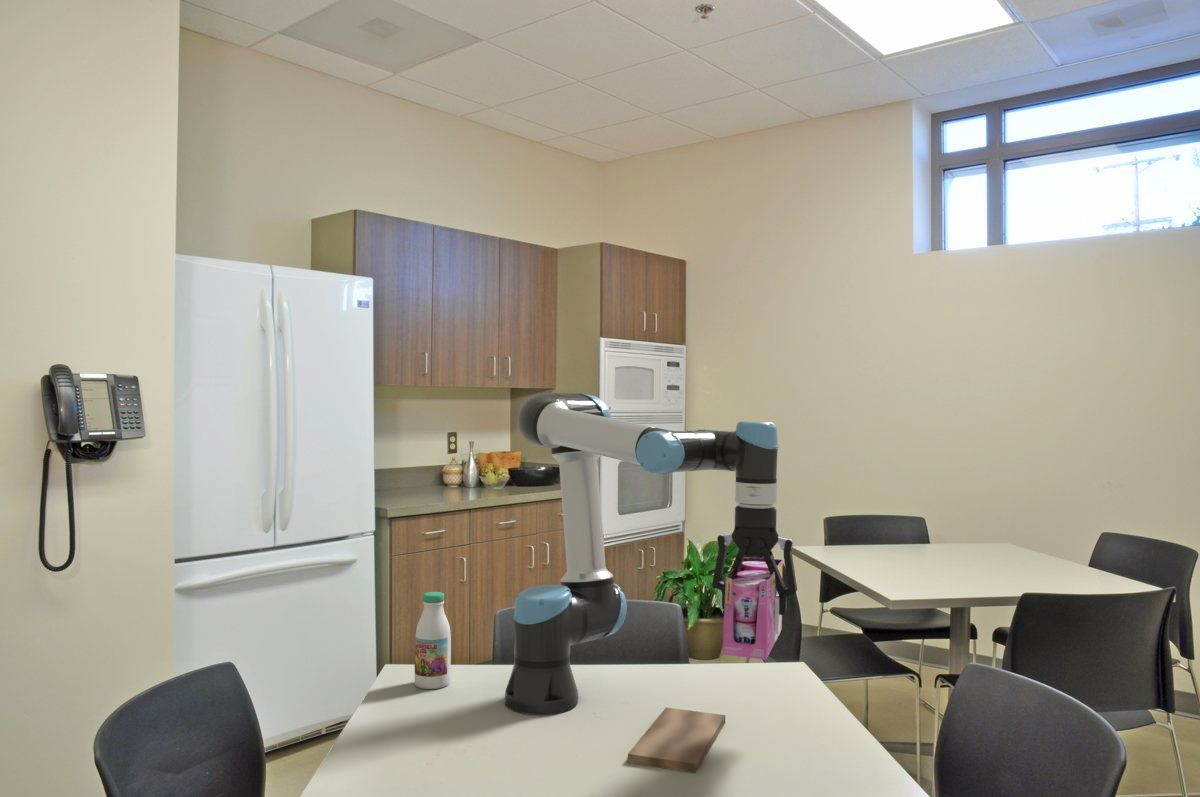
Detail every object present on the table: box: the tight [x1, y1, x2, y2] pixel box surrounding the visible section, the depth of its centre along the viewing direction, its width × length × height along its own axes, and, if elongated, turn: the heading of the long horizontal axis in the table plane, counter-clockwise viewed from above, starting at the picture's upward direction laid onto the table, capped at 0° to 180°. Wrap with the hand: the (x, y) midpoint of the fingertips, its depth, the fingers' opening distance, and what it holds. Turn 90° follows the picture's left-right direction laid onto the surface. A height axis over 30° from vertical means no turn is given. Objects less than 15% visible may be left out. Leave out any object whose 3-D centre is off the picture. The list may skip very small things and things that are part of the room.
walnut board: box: [627, 706, 726, 774], centre depth 158 cm, size 12×25×2 cm, turn 160°
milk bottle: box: [414, 591, 452, 690], centre depth 189 cm, size 8×8×20 cm
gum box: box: [722, 556, 784, 661], centre depth 158 cm, size 24×8×14 cm, turn 162°
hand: (753, 629), depth 158 cm, fingers closed on gum box, 8 cm apart
